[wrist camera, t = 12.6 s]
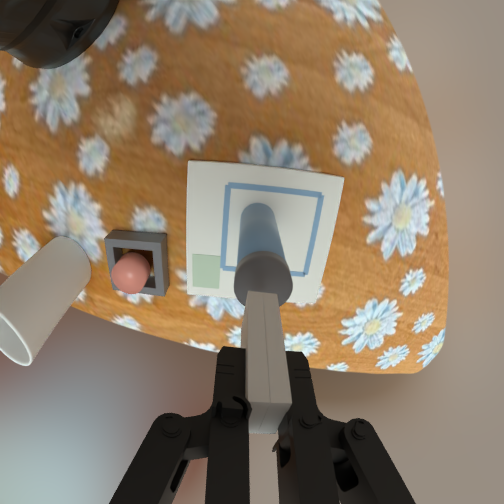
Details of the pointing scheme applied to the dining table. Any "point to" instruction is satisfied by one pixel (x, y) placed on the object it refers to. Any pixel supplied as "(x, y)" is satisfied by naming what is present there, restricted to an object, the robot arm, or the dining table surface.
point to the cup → (40, 297)
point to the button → (131, 272)
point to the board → (286, 214)
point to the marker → (261, 256)
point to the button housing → (142, 242)
